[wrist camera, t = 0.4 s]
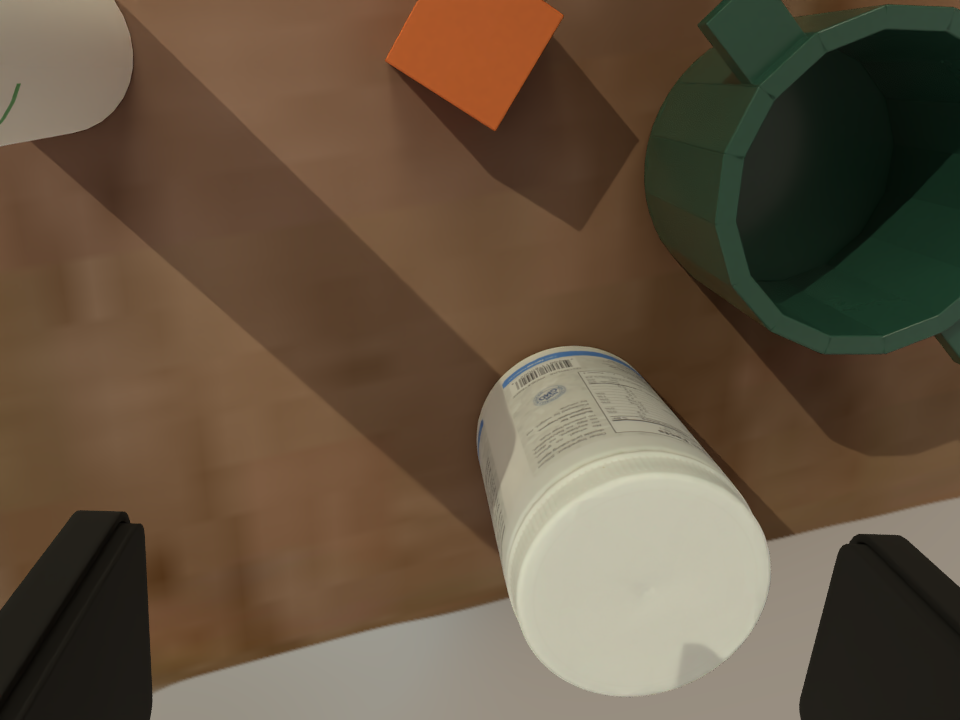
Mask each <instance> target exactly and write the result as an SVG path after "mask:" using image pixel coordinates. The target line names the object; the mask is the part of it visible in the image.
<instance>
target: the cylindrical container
mask: <svg viewBox="0 0 960 720" xmlns="http://www.w3.org/2000/svg"><path fill="white" fill-rule="evenodd" d="M132 70H133V49H132V43H131V37H130V33H129V30H128V27H127V24H126V22H125V19H124V16H123V15H122V13H121V11H120V9H119V8H118V6H117V4H116V3H115V1H114V0H0V146H5V145H10V144H16V143H21V142H27V141H32V140H38V139H43V138H49V137H54V136H60V135H65V134H71V133H75V132H79V131H82V130H86V129H89V128H90V127H92V126H94V125H96V124H98V123H100V122H102V121H103V120H104V119H105V118H107V117H108V116H109V115H110V114H111V113H112V112H113V111H114V110H115V109H116V108H117V106H118V105H119V103H120V102H121V101H122V99H123V98H124V96H125V93H126V91H127V88H128V86H129V84H130V80H131V75H132Z"/></svg>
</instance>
